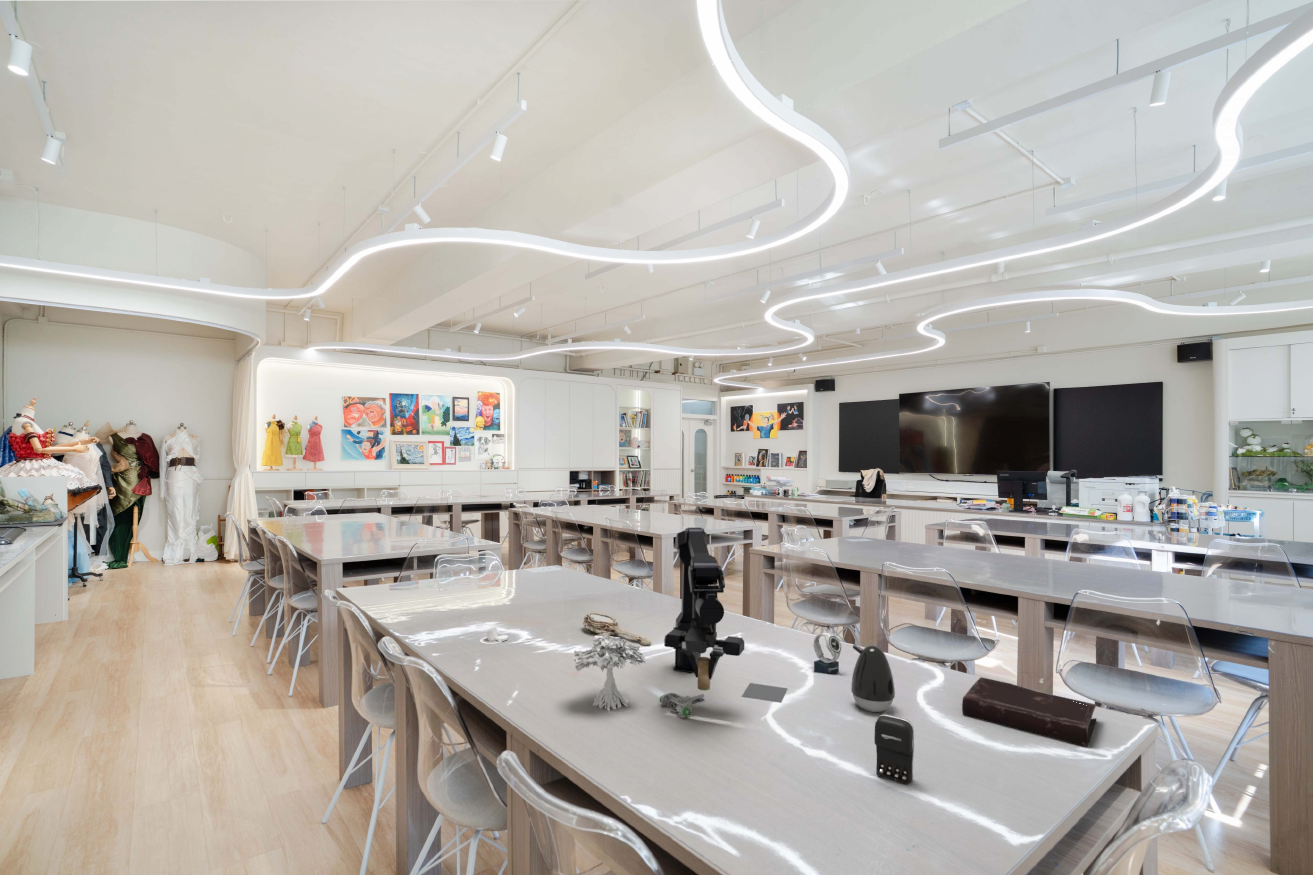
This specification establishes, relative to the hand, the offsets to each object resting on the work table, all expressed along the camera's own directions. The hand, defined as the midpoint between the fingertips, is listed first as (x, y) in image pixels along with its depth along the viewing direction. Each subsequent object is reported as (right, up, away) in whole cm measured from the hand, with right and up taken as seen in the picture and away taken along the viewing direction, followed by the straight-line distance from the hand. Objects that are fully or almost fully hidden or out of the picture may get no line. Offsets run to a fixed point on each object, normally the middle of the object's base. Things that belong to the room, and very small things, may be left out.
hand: (703, 677), depth 152 cm
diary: (+78, -10, -2) cm, 78 cm away
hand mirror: (-25, -9, +60) cm, 65 cm away
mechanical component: (0, -7, +5) cm, 8 cm away
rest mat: (+16, -8, +10) cm, 21 cm away
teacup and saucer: (-64, -9, +51) cm, 83 cm away
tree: (-23, -8, +4) cm, 25 cm away
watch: (+37, -9, +27) cm, 47 cm away
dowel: (0, -2, 0) cm, 2 cm away
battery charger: (+34, -8, -30) cm, 47 cm away
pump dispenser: (+42, -9, +3) cm, 43 cm away
